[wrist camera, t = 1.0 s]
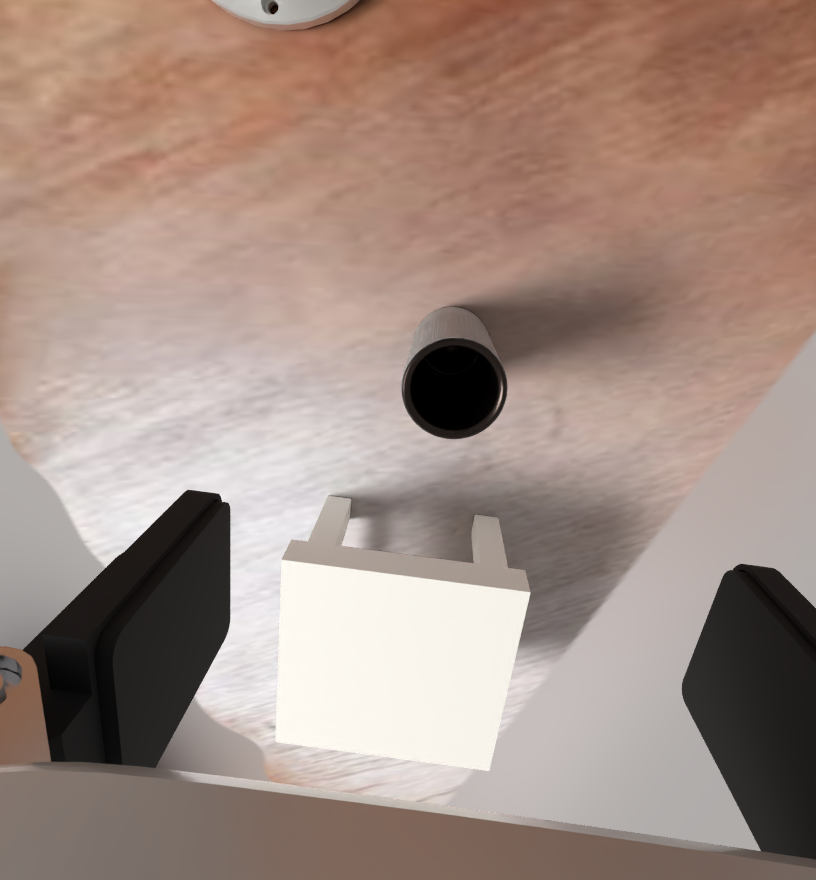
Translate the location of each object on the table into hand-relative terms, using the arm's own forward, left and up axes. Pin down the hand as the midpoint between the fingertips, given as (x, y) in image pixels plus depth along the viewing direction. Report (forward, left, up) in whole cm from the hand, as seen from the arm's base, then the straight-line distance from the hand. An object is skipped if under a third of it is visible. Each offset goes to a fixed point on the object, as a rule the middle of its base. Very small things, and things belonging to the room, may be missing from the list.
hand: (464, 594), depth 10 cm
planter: (0, 0, -24) cm, 24 cm away
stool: (+17, -1, -24) cm, 30 cm away
